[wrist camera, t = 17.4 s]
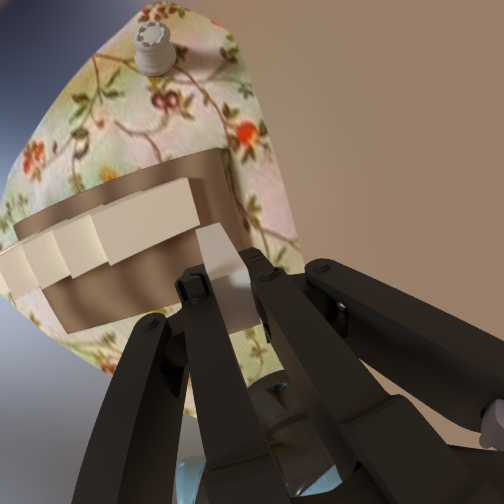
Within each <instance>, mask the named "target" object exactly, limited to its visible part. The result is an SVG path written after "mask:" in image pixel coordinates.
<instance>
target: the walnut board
mask: <svg viewBox="0 0 504 504" xmlns="http://www.w3.org/2000/svg"><path fill="white" fill-rule="evenodd" d="M179 178H188V182H189V186H190V190H191V193H192V197H193V201H194V204H195V208H196V211H197V215H198V218H199V222H200V225H198V226H196V227H193V228H191V229H189V230H187V231H184V232H182V233H180V234H177V235H175V236H173V237H171V238H169V239H166V240H164V241H162V242H160V243H158V244H155V245H153V246H151V247H149V248H147V249H145V250H142V251H140V252H138V253H136V254H134V255H132V256H130V257H128V258H126V259H123V260H121V261H119V262H117V263H115V264H113V265H111V266H110V264H109V262H108V261H107V262H105V263H103V264H101V265H99V266H97V267H95V268H93V269H91V270H89V271H87V272H85V273H83V274H81V275H79V276H77V277H75V278H72V276H71V275H69V276H67V277H65V278H63V279H61V280H59V281H57V282H55V283H53V284H52V285H50V286H48V287H46V288H44V289H41V290H42V292H43V294H44V295H45V297H46V299H47V301H48V303H49V305H50V306H51V308H52V310H53V311H54V313H55V315H56V317H57V318H58V320H59V321H60V323H61V325H62V326H63V328H64V329H65V331H66V333H67V334H70V333H74V332H78V331H82V330H85V329H89V328H93V327H96V326H100V325H104V324H107V323H111V322H114V321H118V320H121V319H125V318H128V317H132V316H135V315H139V314H142V313H146V312H149V311H153V310H156V309H159V308H163V307H166V306H169V305H173V304H176V303H179V302H181V301H180V298H179V296H178V293H177V291H176V288H175V286H174V284H175V281H176V280H177V279H178V278H179V277H181V276H182V274H183V272H184V271H185V269H187V268H190V267H193V266H196V265H200V264H203V263H204V261H203V257H202V254H201V250H200V246H199V242H198V239H197V235H196V231H195V230H196V229H199V228H203V227H206V226H209V225H213V224H216V223H219V222H220V224H221V226H222V227H223V229H224V231H225V232H226V234H227V236H228V237H229V239H230V241H231V242H232V244H233V246H234V247H235V249H236V251H237V252H239V251H242V250H243V248H242V244H241V239H240V235H239V231H238V227H237V223H236V219H235V214H234V210H233V206H232V202H231V198H230V194H229V189H228V185H227V181H226V177H225V172H224V168H223V164H222V160H221V155H220V151H219V148H217V147H216V148H212V149H209V150H205V151H201V152H197V153H194V154H190V155H186V156H183V157H180V158H176V159H173V160H169V161H166V162H163V163H160V164H157V165H154V166H150V167H147V168H144V169H141V170H139V171H136V172H133V173H130V174H127V175H124V176H122V177H119V178H116V179H113V180H111V181H108V182H106V183H103V184H100V185H98V186H95V187H93V188H90V189H88V190H86V191H83V192H81V193H79V194H76V195H74V196H72V197H69V198H67V199H65V200H63V201H60V202H58V203H56V204H54V205H52V206H50V207H48V208H45V209H43V210H41V211H39V212H37V213H35V214H33V215H31V216H29V217H27V218H26V219H24V220H22V221H20V222H18V223H17V224H15V225H14V226H13V227H14V230H15V233H16V235H17V238H18V240H19V241H20V240H22V239H24V238H26V237H28V236H30V235H32V234H34V233H37V232H39V231H41V232H42V231H44V230H46V229H48V228H50V227H51V226H53V225H55V224H57V223H59V222H61V221H64V220H66V219H68V220H69V219H71V218H74V217H76V216H78V215H80V214H82V213H84V212H86V211H89V210H91V209H93V208H95V207H98V206H100V205H102V204H103V205H107V204H109V203H111V202H114V201H116V200H118V199H121V198H123V197H126V196H128V195H131V194H133V193H136V192H138V191H146V190H149V189H151V188H154V187H157V186H159V185H162V184H165V183H167V182H170V181H173V180H176V179H179ZM40 288H41V287H40Z"/></svg>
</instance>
